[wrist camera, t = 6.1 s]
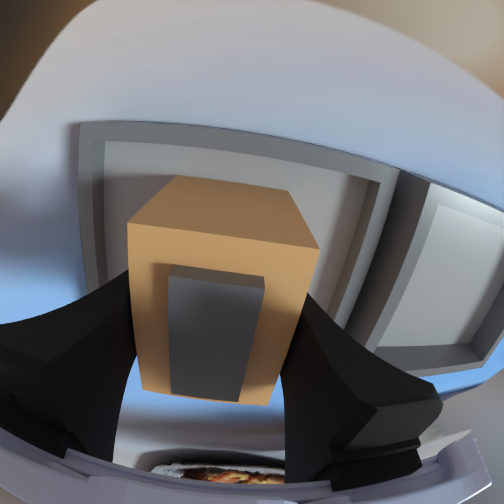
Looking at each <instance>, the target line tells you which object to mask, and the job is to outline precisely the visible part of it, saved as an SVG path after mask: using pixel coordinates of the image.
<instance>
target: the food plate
mask: <svg viewBox="0 0 504 504" xmlns="http://www.w3.org/2000/svg"><path fill="white" fill-rule="evenodd" d="M183 463H184V464H185V465H182V463H181V462H179V461H178V462H174V463H173V464H172V465H170V466H167V465H166V463H165V464H164V463H162V464H160V465H157V466H156V467H155V468H153V469H152V470H151V471H150V472H151V473H156V474H161V475H166V476H172V477H174V476H173V475H174V474H176V475H175V476H176V477H177V476H178V475H179V474H180V476H181V478H185V479H192V480H200V481H209V482H221V483H237V484H284V479H285V469H282V468H273V467H269V466H266V465H263V466H262V465H259V466H258V465H243V464H242V465H239V464H238V465H235V464H231V465H222V464H221V465H220V464H211V463H203V462H202V463H201V462H199V463H196V464H195V463H192V462H191V463H185V462H184V460H183ZM177 469H178V470H177ZM174 471H176V473H175V472H174ZM180 472H181V473H180ZM172 473H174V474H173V475H172ZM182 473H183V475H181V474H182Z"/></svg>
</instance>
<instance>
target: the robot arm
mask: <svg viewBox="0 0 504 504" xmlns="http://www.w3.org/2000/svg"><path fill="white" fill-rule="evenodd" d="M136 356H137V351H136V344H135V336H134V328H133V319H132V309H131V297H130V284H129V269H127V270H126V271H124V272H123V273H121V274H120V275H118V276H117V277H115V278H114V279H112V280H111V281H109V282H108V283H106V284H105V285H103V286H101V287H99V288H98V289H96V290H94V291H93V292H91V293H89V294H88V295H86V296H84V297H82V298H80V299H78V300H76V301H74V302H72V303H70V304H68V305H66V306H63V307H61V308H58V309H56V310H53V311H50V312H48V313H45V314H42V315H39V316H36V317H33V318H29V319H25V320H21V321H17V322H12V323H6V324H0V487H2V488H3V489H5V490H6V491H8V492H9V493H11V494H12V495H14V496H16V497H17V498H20V499H21V500H23V501H25V502H26V503H28V504H460V503H462V502H464V501H465V500H467V499H469V498H471V497H472V496H474V495H476V494H477V493H479V492H481V491H482V490H484V489H485V488H487V487H488V486H490V485H491V483H492V482H491V479H490V476H489V474H488V471H487V469H486V466H485V464H484V461H483V459H482V457H481V454H480V452H479V450H478V448H477V446H476V443H475V441H474V439H473V437H472V436H468V437H465V438H463V439H460V440H458V441H455V442H453V443H451V444H449V445H448V446H446V447H445V448H443V449H442V450H441V451H440V452H439V453H438V454H437V455H435V456H432V457H430V458H426V459H423V460H420V457H419V454H418V452H417V448H419V447H420V445H421V443H420V440H419V438H418V437H419V436H420V435H421V434H422V433H423V432H424V431H425V430H426V429H427V428H428V427H429V426H430V425H431V424H432V423H433V422H434V421H435V420H436V419H437V417H438V416H439V414H440V412H441V410H442V407H443V403H442V401H441V399H440V397H439V395H438V393H437V391H436V389H435V387H434V385H433V384H432V383H430V382H427V381H425V380H423V379H420V378H418V377H415V376H413V375H411V374H408V373H406V372H404V371H402V370H400V369H399V368H397V367H395V366H393V365H391V364H389V363H388V362H386V361H384V360H383V359H381V358H380V357H378V356H376V355H375V354H373V353H372V352H370V351H369V350H368V349H366V348H365V347H363V346H362V345H361V344H360V343H358V342H357V341H356V340H355V339H353V338H352V337H351V336H350V335H348V334H347V333H346V332H345V331H344V330H343V329H342V328H341V327H340V326H339V325H338V324H337V323H336V322H334V321H333V319H332V318H331V317H330V316H329V315H328V314H327V313H326V312H325V311H324V310H323V309H322V308H321V307H320V306H319V305H318V304H317V302H316V301H315V300H314V299H313V298H312V297H311V296H310V294H309V293H308V292H307V295H306V298H305V301H304V304H303V308H302V311H301V314H300V317H299V320H298V323H297V326H296V329H295V332H294V334H293V337H292V340H291V343H290V346H289V349H288V352H287V354H286V357H285V360H284V363H283V365H282V368H281V371H280V377H281V383H282V388H283V396H284V411H285V479H284V484H237V483H221V482H209V481H200V480H192V479H185V478H178V477H172V476H166V475H161V474H156V473H151V472H146V471H142V470H137V469H133V468H129V467H125V466H122V465H118V464H114V463H112V461H113V452H114V443H115V436H116V430H117V424H118V418H119V413H120V409H121V404H122V399H123V395H124V391H125V387H126V383H127V379H128V376H129V373H130V370H131V368H132V365H133V363H134V360H135V358H136Z"/></svg>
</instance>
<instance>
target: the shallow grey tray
mask: <svg viewBox="0 0 504 504" xmlns="http://www.w3.org/2000/svg"><path fill="white" fill-rule="evenodd" d="M399 172H400V170H399V169H397V168H395V167H392V166H390V165H388V164H385V163H383V162H380V161H377V160H373V159H370V158H366V157H363V156H359V155H355V154H352V153H348V152H344V151H340V150H336V149H332V148H328V147H324V146H320V145H315V144H311V143H306V142H301V141H297V140H292V139H287V138H281V137H276V136H271V135H265V134H259V133H253V132H246V131H240V130H233V129H225V128H217V127H209V126H200V125H189V124H178V123H164V122H146V121H92V122H84V123H80V132H79V150H78V202H79V222H80V235H81V246H82V255H83V264H84V271H85V278H86V285H87V291H88V294H89V293H91V292H93V291H94V290H96V289H98V288H99V287H101V286H103V285H105V284H106V283H108V282H109V281H111V280H112V279H114V278H115V277H117V276H118V275H120V274H121V273H123V272H124V271H126V270H127V269H129V266H128V235H127V223H128V222H129V221H130V219H131V218H132V217H133V216H134V215H135V214H136V213H137V212H138V211H139V210H140V209H141V208H142V207H143V206H144V205H145V204H147V203H148V202H149V201H150V200H151V199H152V198H153V197H154V196H155V195H156V194H157V193H158V192H159V191H160V190H161V189H162V188H163V187H164V186H165V185H166V184H168V183H169V182H170V181H171V180H172V179H173V178H174V177H175V176H176V175H183V176H191V177H200V178H208V179H215V180H223V181H230V182H237V183H244V184H250V185H257V186H263V187H269V188H275V189H281V190H287V191H289V193H290V195H291V197H292V198H293V200H294V202H295V204H296V206H297V207H298V209H299V211H300V213H301V215H302V216H303V218H304V220H305V222H306V224H307V226H308V227H309V229H310V231H311V233H312V235H313V237H314V239H315V240H316V242H317V244H318V246H319V248H320V252H319V256H318V259H317V263H316V266H315V269H314V273H313V276H312V279H311V282H310V286H309V289H308V293H309V294H310V296H311V297H312V298H313V299H314V300H315V301H316V302H317V304H318V305H319V306H320V307H321V308H322V309H323V310H324V311H325V312H326V313H327V314H328V315H329V316H330V317H331V318H332V319H333V321H334V322H336V323H337V324H338V325H339V326H340V327H341V328H342V329H343V330H344V328H345V326H346V323H347V321H348V319H349V317H350V314H351V312H352V310H353V307H354V305H355V302H356V300H357V298H358V295H359V293H360V290H361V288H362V285H363V283H364V280H365V277H366V275H367V272H368V270H369V267H370V264H371V262H372V259H373V256H374V253H375V250H376V248H377V245H378V242H379V239H380V236H381V233H382V230H383V227H384V224H385V221H386V217H387V214H388V211H389V208H390V204H391V201H392V198H393V194H394V191H395V187H396V183H397V180H398V176H399Z"/></svg>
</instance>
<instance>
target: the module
mask: <svg viewBox="0 0 504 504" xmlns="http://www.w3.org/2000/svg"><path fill="white" fill-rule="evenodd" d="M127 235H128V266H129V284H130V297H131V309H132V319H133V328H134V336H135V344H136V351H137V358H138V365H139V371H140V377H141V383H142V388H143V390H147V391H152V392H157V393H162V394H168V395H173V396H179V397H186V398H193V399H200V400H208V401H216V402H225V403H236V404H249V405H266V406H267V405H268V402H269V400H270V397H271V395H272V392H273V389H274V387H275V384H276V382H277V379H278V376H279V374H280V371H281V368H282V365H283V363H284V360H285V357H286V354H287V352H288V349H289V346H290V343H291V340H292V337H293V334H294V332H295V329H296V326H297V323H298V320H299V317H300V314H301V311H302V308H303V304H304V301H305V298H306V295H307V292H308V289H309V286H310V282H311V279H312V276H313V273H314V269H315V266H316V263H317V259H318V256H319V252H320V248H319V246H318V244H317V242H316V240H315V239H314V237H313V235H312V233H311V231H310V229H309V227H308V226H307V224H306V222H305V220H304V218H303V216H302V215H301V213H300V211H299V209H298V207H297V206H296V204H295V202H294V200H293V198H292V197H291V195H290V193H289V191H287V190H281V189H275V188H269V187H263V186H257V185H250V184H244V183H237V182H230V181H223V180H215V179H208V178H200V177H191V176H183V175H176V176H175V177H174V178H173V179H172V180H171V181H170V182H169V183H168V184H166V185H165V186H164V187H163V188H162V189H161V190H160V191H159V192H158V193H157V194H156V195H155V196H154V197H153V198H152V199H151V200H150V201H149V202H148V203H147V204H145V205H144V206H143V207H142V208H141V209H140V210H139V211H138V212H137V213H136V214H135V215H134V216H133V217H132V218H131V219H130V221H129V222H128V223H127Z"/></svg>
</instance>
